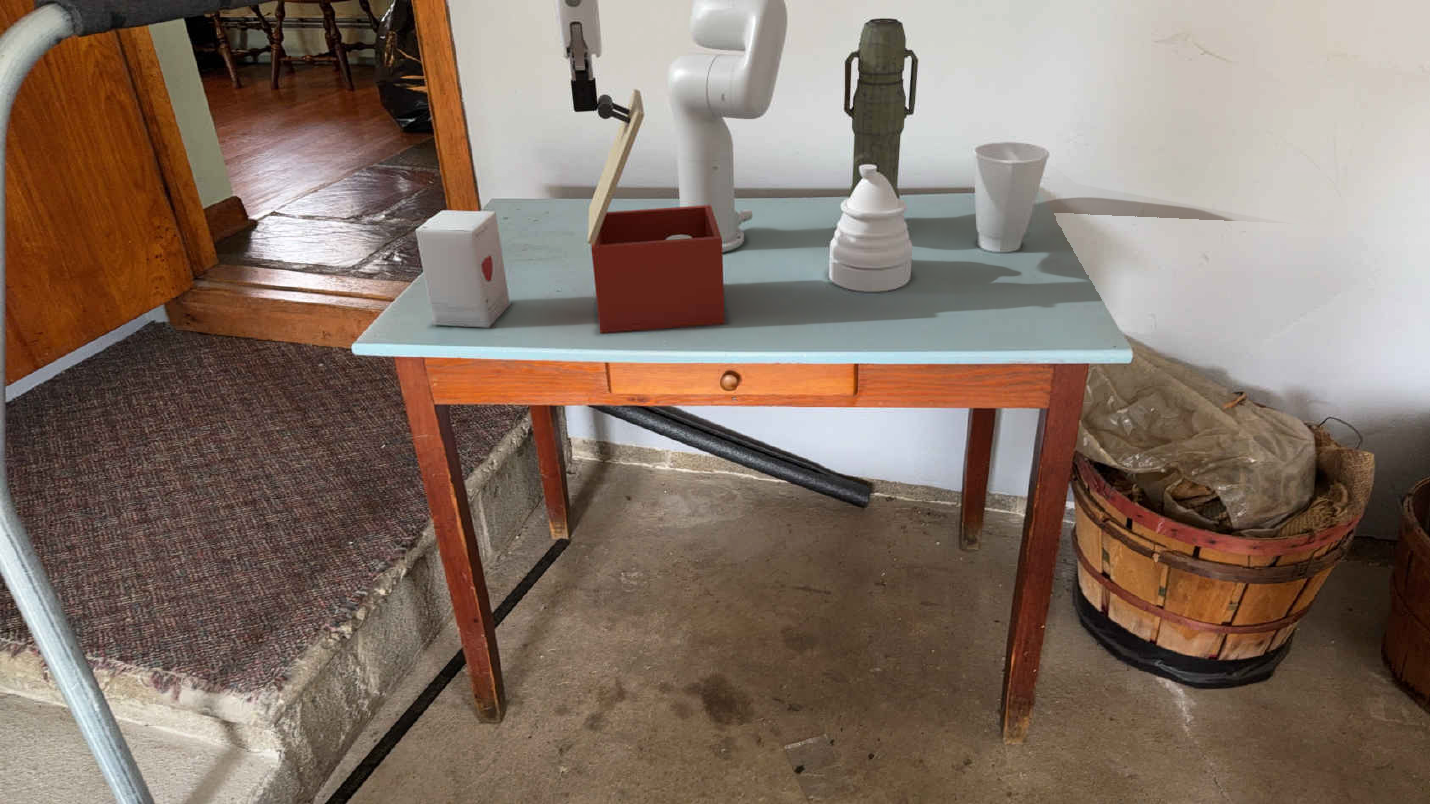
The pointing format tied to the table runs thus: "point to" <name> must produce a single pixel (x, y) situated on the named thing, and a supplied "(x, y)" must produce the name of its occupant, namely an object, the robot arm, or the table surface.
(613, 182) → the lid
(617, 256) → the red open box
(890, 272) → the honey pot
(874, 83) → the olive green vase
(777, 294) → the table surface
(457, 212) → the rectangular carton
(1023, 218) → the cup
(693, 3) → the robot arm
